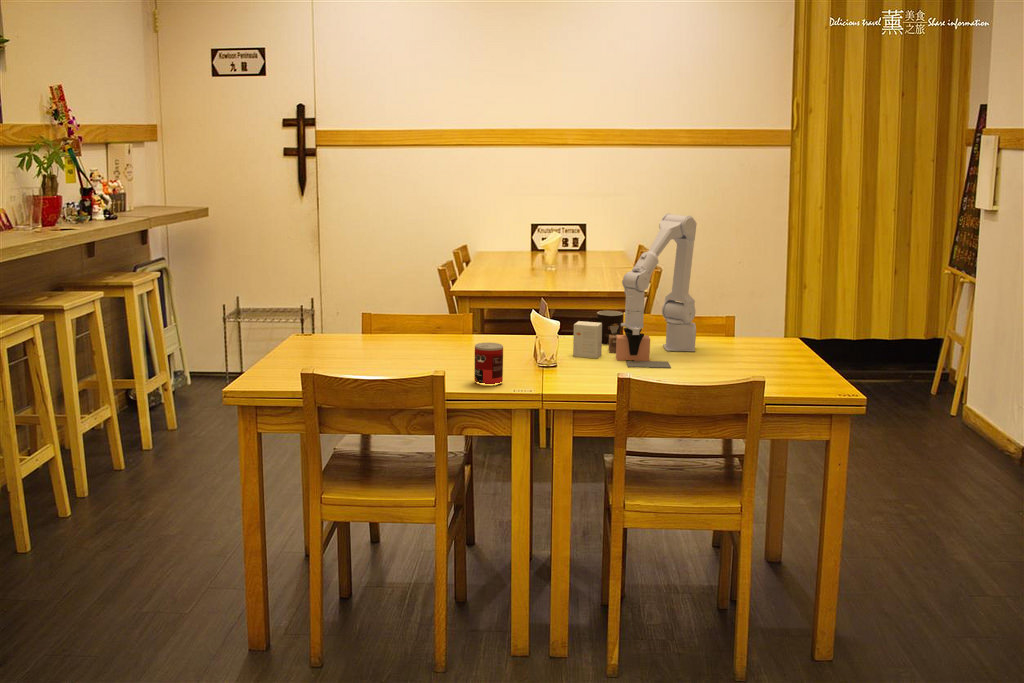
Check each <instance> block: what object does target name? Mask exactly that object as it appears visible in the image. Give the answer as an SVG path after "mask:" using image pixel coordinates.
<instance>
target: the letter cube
mask: <svg viewBox="0 0 1024 683" xmlns="http://www.w3.org/2000/svg"><path fill="white" fill-rule="evenodd" d="M616 337H617V335H609V345H608V353H609V354H616Z"/></svg>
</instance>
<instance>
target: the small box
mask: <svg viewBox="0 0 1024 683" xmlns="http://www.w3.org/2000/svg"><path fill="white" fill-rule="evenodd" d="M572 341H573V342H572V343H573V345H572V346H573V348H572V351H573V352H572V355H573V357H574V358H575V357H577V358H585V359H587V358H588V359H598V358H600V356H602V351H603V350H602V345H603V344H602V323H598V322H597V321H596V322H595V321H594V322H593V321H590V322H588V321H580V320H578V321H577V322H575V323H574V324H573V340H572Z"/></svg>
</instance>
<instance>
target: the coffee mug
mask: <svg viewBox="0 0 1024 683" xmlns="http://www.w3.org/2000/svg"><path fill="white" fill-rule="evenodd" d="M596 316H597V317H591V318H589V319H588V320H587V322H592V320H593V321H594V320H595V321H596V322H597V323H602V345H608V346H609V335H621V329H622V326H621V323H623V317H624V313H623V312H622V311H616V310H600V311H597V312H596Z"/></svg>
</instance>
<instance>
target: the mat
mask: <svg viewBox="0 0 1024 683" xmlns="http://www.w3.org/2000/svg"><path fill="white" fill-rule="evenodd" d="M626 363H627V364H626ZM625 364H626V366H627V368H629V367H649V368H648V369H672V366H671V365H670V362H669V361H665V360H664V361H661V360H660V361H658V360H649V361H625Z"/></svg>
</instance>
